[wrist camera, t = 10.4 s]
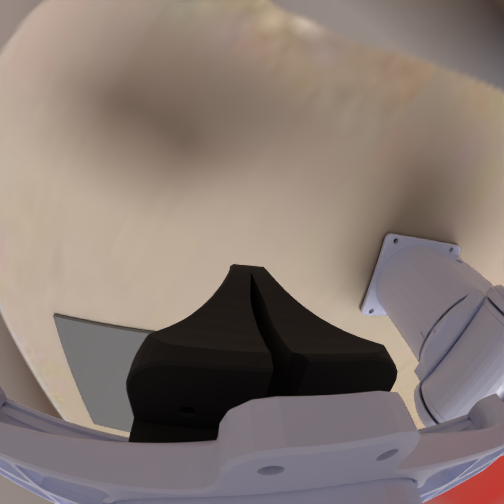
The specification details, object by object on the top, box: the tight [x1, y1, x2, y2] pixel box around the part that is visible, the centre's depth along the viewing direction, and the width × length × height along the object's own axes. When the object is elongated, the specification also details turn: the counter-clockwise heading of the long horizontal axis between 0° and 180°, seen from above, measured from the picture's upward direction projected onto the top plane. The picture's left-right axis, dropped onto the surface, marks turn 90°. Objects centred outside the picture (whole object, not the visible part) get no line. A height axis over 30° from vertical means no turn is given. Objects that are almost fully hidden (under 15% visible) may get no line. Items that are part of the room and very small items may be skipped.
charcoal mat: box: [53, 314, 153, 432], centre depth 29 cm, size 22×20×1 cm
